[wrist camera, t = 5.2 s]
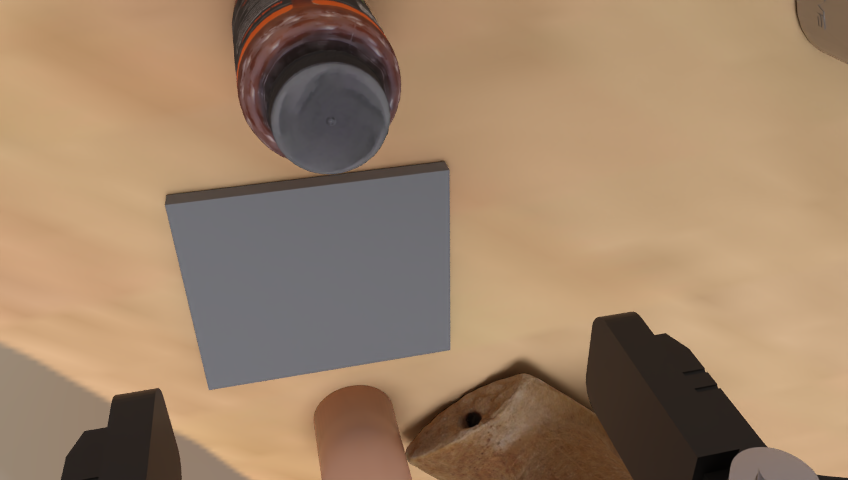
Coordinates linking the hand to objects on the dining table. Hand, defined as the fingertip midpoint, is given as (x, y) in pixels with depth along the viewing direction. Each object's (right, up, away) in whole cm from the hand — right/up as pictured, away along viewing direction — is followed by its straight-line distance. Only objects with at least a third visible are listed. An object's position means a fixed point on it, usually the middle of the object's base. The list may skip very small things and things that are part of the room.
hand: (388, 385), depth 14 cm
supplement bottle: (-5, +13, +20) cm, 24 cm away
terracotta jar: (-4, -8, +34) cm, 35 cm away
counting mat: (-5, +1, +27) cm, 28 cm away
